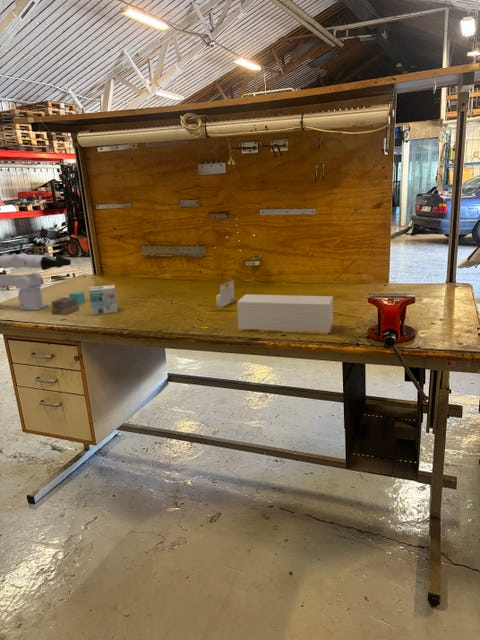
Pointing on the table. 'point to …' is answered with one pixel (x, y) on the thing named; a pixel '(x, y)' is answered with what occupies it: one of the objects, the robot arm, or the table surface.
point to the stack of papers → (285, 312)
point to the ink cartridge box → (225, 294)
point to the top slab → (63, 303)
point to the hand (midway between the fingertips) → (64, 263)
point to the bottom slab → (65, 310)
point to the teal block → (78, 297)
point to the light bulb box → (103, 299)
